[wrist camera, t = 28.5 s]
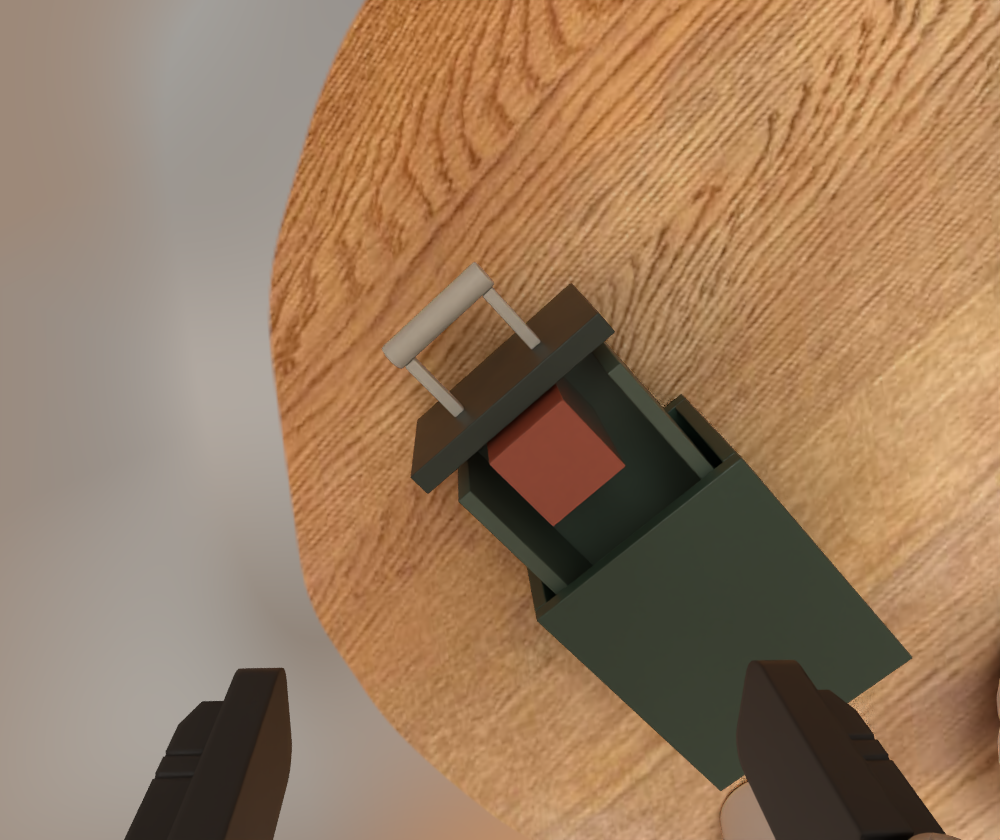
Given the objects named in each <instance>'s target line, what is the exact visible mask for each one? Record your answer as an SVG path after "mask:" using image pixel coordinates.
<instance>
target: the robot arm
mask: <svg viewBox="0 0 1000 840" xmlns="http://www.w3.org/2000/svg"><path fill="white" fill-rule="evenodd" d="M736 744H737V752H738V757H739V761H740V764H741V767H742V769H743V772H744V774H745V776H746V778H747V780H748V782H749V785H750V787H751V789H752V791H753V793H754V795H755V797H756V799H757V801H758V804H759V806H760V808H761V810H762V812H763V814H764V816H765V818H766V821H767V823H768V825H769V827H770V829H771V831H772V833H773V835H774V837H775V840H961V839H958V838H956V837H953V836H949V835H946V834H945V832H944V831H943V830H942V828H941V827H940V825H939V824H938V823H937V821H936V820H935V819H934V817H933V816H932V814H931V813H930V812H929V810H928V809H927V807H926V806H925V805H924V803H923V802H922V801H921V799H920V798H919V796H918V795H917V794H916V792H915V791H914V790H913V788H912V787H911V785H910V784H909V783H908V781H907V780H906V778H905V777H904V776H903V774H902V773H901V772H900V770H899V769H898V767H897V766H896V765H895V763H894V762H893V761H892V760H889V757H888V754H887V752H886V751H885V749H884V748H883V747H882V745H881V744H880V743H879V741H878V740H875V739H874V734H873V733H872V732H871V730H870V729H869V727H868V726H867V725H866V723H865V722H864V720H863V719H862V718H861V716H860V715H859V714H858V712H857V711H856V710H855V709H854V708H852V707H851V706H850V705H849V704H847V703H846V702H845V701H843V700H842V699H841V698H840V697H838V696H837V695H836V694H834V693H833V692H832V691H831V690H817V688H816V687H815V685H814V684H813V682H812V681H811V680H810V678H809V677H808V675H807V674H806V672H805V671H804V669H803V668H802V666H801V665H800V664H799V663H798V662H797V661H795V660H753V661H751V662H750V663H749V665H748V667H747V670H746V676H745V682H744V688H743V693H742V699H741V705H740V711H739V717H738V723H737V730H736ZM291 753H292V739H291V727H290V715H289V703H288V691H287V680H286V673H285V670H284V668H246V669H238V670H237V671H236V673H235V675H234V677H233V680H232V682H231V684H230V687H229V689H228V692H227V694H226V696H225V699H224V701H203V702H201V703H200V704H199V705H198V706H197V707H196V708H195V709H194V710H193V711H192V712H191V713H190V714H189V715H188V716H187V717H186V718H185V719H184V720H183V721H182V722H181V723H180V724H179V725H178V727H177V729H176V731H175V733H174V735H173V737H172V739H171V742H170V744H169V746H168V748H167V750H166V756H165V757H163V759H162V761H161V763H160V765H159V767H158V769H157V771H156V776H155V779H153V780H152V782H151V784H150V786H149V788H148V790H147V792H146V794H145V797H144V799H143V801H142V803H141V805H140V807H139V809H138V812H137V814H136V816H135V818H134V820H133V822H132V824H131V826H130V828H129V831H128V833H127V835H126V837H125V839H124V840H273V837H274V833H275V830H276V826H277V822H278V818H279V814H280V810H281V806H282V802H283V798H284V794H285V791H286V787H287V782H288V778H289V773H290V765H291Z"/></svg>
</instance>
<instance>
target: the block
mask: <svg viewBox="0 0 1000 840" xmlns="http://www.w3.org/2000/svg"><path fill="white" fill-rule="evenodd" d="M487 449H488V457H489V464H490V466H491V467H493V468H494V469H495V470H496V471H497V472H498V473H499V474H500V475H501V476H502V477H503V478H504V479H505V480H506V481H507V482H508V483H509V484H510V485H511V486H512V487H513V488H514V489H515V490H516V491H517V492H518V493H519V494H520V495H521V496H522V497H523V498H524V499H525V500H526V501H527V502H528V503H529V504H530V505H532V506H533V507H534V508H535V509H536V510H537V511H538V512H539V513H540V514H541V515H542V516H543V517H544V518H545V519H546V520H547V521H548V522H549V523H550V524H551V525H552V526H555V525H556V524H557V523H558V522H559V521H561V520H562V519H563V518H564V517H565V516H567V515H568V514H569V513H570V512H571V511H573V510H574V509H575V508H576V507H577V506H579V505H580V504H581V503H582V502H583V501H585V500H586V499H587V498H588V497H589V496H591V495H592V494H593V493H594V492H595V491H597V490H598V489H599V488H600V487H601V486H603V485H604V484H605V483H606V482H607V481H609V480H610V479H611V478H612V477H613V476H615V475H616V474H617V473H618V472H619V471H621V470H622V469H623V468H624V467H625V464H624V462H623V460H622V458H621V456H620V455H619V453H618V451H617V449H616V447H615V446H614V444H613V442H612V440H611V438H610V437H609V435H608V433H607V431H606V429H605V428H604V426H603V424H602V422H601V420H600V419H599V417H598V415H597V413H596V411H595V410H594V408H593V407H592V406H591V405H590V404H589V403H588V401H587V400H586V399H585V398H584V397H583V396H582V395H581V394H580V393H579V392H578V391H577V390H576V389H575V388H574V386H573V385H572V384H571V383H570V382H569V381H568V380H567V379H566V378H565V377H563V378H561V379H560V380H559V381H558V382H557V383H556V384H555V385H553V386H552V387H551V388H550V389H549V390H548V391H546V392H545V393H544V394H543V395H542V396H541V397H540V398H538V399H537V400H536V401H535V402H534V403H533V404H531V405H530V406H529V407H528V408H527V409H526V410H524V411H523V412H522V413H521V414H520V415H519V416H518V417H516V418H515V419H514V420H513V421H512V422H511V423H509V424H508V425H507V426H506V427H505V428H504V429H503V430H501V431H500V432H499V433H498V434H497V435H496V436H494V437H493V438H492V439H491V440H490V441H489V442H488V443H487Z"/></svg>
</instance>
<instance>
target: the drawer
mask: <svg viewBox="0 0 1000 840" xmlns="http://www.w3.org/2000/svg"><path fill="white" fill-rule="evenodd" d="M493 285H494V282H493V281H492V279H491V278H490V277H489V276H488V274H487V273H486V272H485V271H484V270H483V269H482V268H481V267H480V266H479V265H478V264H477V263H476V262H473V263H472V264H471V265H470V266H469V267H468V268H467V269H465V270H464V271H463V272H462V273H461V274H460V275H459V276H458V277H457V278H456V279H455V280H454V281H453V282H451V283H450V284H449V285H448V286H447V287H446V288H445V289H444V290H443V291H442V292H441V293H440V294H439V295H437V296H436V297H435V298H434V299H433V300H432V301H431V302H430V303H429V304H428V305H427V306H426V307H425V308H424V309H422V310H421V311H420V312H419V313H418V314H417V315H416V316H415V317H414V318H413V319H412V320H411V321H410V322H408V323H407V324H406V325H405V326H404V327H403V328H402V329H401V330H400V331H399V332H398V333H397V334H396V335H394V336H393V337H392V338H391V339H390V340H389V341H388V342H387V343H386V344H385V345H384V346H383V347H382V350H383V352H384V354H385V356H386V357H387V358H388V359H389V360H390V361H391V362H392V363H393V364H394V365H395V366H396V367H398V368H400V369H402V368H404V367H405V366H406V369H407V370H408V371H409V372H410V373H411V374H412V375H413V376H414V377H415V378H416V379H417V380H418V381H419V382H420V383H421V384H422V385H423V386H424V387H425V388H426V389H427V390H428V391H429V392H430V393H431V394H432V395H433V396H434V397H435V398H436V399H437V400H438V402H437V403H436V404H435V405H434V406H433V407H432V408H431V409H429V410H428V411H427V412H426V413H425V414H424V415H423V416H422V417H421V418H419V419H418V421H417V428H416V437H415V445H414V453H413V462H412V470H411V478H412V479H413V480H414V481H415V482H416V483H417V484H418V485H419V486H420V487H421V488H422V489H423V490H424V491H425V492H426V493H430V492H431V491H432V490H433V489H434V488H436V487H437V486H438V485H439V484H440V483H441V482H442V481H444V480H445V479H446V478H447V477H448V476H449V475H451V474H452V473H453V472H454V471H455V470H456V469H457V468H458V500H459V502H460V503H461V504H462V505H463V506H464V507H465V508H466V509H467V510H468V511H469V512H470V513H471V514H472V515H473V516H474V517H475V518H476V519H477V520H478V521H480V522H481V523H482V524H483V525H484V526H485V527H486V528H487V529H488V530H489V531H490V532H491V533H492V534H493V535H494V536H495V537H496V538H497V539H498V540H499V541H500V542H502V543H503V544H504V545H505V546H506V547H507V548H508V549H509V550H510V551H511V552H512V553H513V554H514V555H515V556H516V557H517V558H518V559H519V560H520V561H521V562H523V563H524V564H525V565H526V566H527V567H528V568H529V569H530V570H531V571H532V572H533V573H534V574H535V575H536V576H537V577H538V578H539V579H540V580H541V581H542V582H543V583H545V584H546V585H547V586H548V587H549V588H550V589H551V590H552V591H553V592H554V593H555V594H556V595H557V594H558V593H559V592H561V591H562V590H563V589H564V588H566V587H567V586H568V585H569V584H571V583H572V582H573V581H574V580H576V579H577V578H578V577H579V576H581V575H582V574H583V573H585V572H586V571H587V570H588V569H590V568H591V567H592V566H593V565H595V564H596V563H597V562H598V561H600V560H601V559H602V558H603V557H605V556H606V555H607V554H608V553H610V552H611V551H612V550H613V549H615V548H616V547H617V546H618V545H620V544H621V543H622V542H623V541H625V540H626V539H627V538H628V537H630V536H631V535H632V534H633V533H635V532H636V531H637V530H639V529H640V528H641V527H642V526H644V525H645V524H646V523H647V522H649V521H650V520H651V519H652V518H654V517H655V516H656V515H657V514H659V513H660V512H661V511H662V510H664V509H665V508H666V507H667V506H669V505H670V504H671V503H672V502H674V501H675V500H676V499H677V498H679V497H680V496H681V495H682V494H684V493H685V492H686V491H687V490H689V489H690V488H691V487H693V486H694V485H695V484H696V483H698V482H699V481H700V480H701V479H703V478H704V477H705V476H706V475H708V474H709V473H710V472H711V471H713V470H714V469H715V466H714V465H713V464H712V463H711V462H710V461H709V460H708V458H707V457H706V456H705V455H704V454H703V453H702V452H701V450H700V449H699V448H698V447H697V446H696V445H695V444H694V442H693V441H692V440H691V439H690V438H689V437H688V436H687V435H686V433H685V432H684V431H683V430H682V429H681V428H680V427H679V425H678V424H677V423H676V422H675V421H674V420H673V419H672V417H671V416H670V415H669V414H668V413H667V412H666V411H665V409H664V408H663V407H662V406H661V405H660V404H659V403H658V401H657V400H656V399H655V398H654V397H653V396H652V395H651V393H650V392H649V391H648V390H647V389H646V388H645V387H644V385H643V384H642V383H641V382H640V381H639V380H638V379H637V377H636V376H635V375H634V374H633V373H632V372H631V371H630V369H629V368H628V367H627V366H626V365H625V364H624V363H623V361H622V360H621V359H620V358H619V357H618V356H617V355H616V353H615V352H614V351H613V350H612V349H611V348H610V347H609V345H608V344H607V343H606V342H605V340H607V339H608V338H609V337H610V336H611V335H612V334H613V333H614V332H615V331H614V330H613V329H612V328H611V326H610V325H609V324H608V323H607V322H606V321H605V319H604V318H603V317H602V316H601V315H600V314H599V313H598V311H597V310H596V309H595V308H594V307H593V306H592V305H591V304H590V303H589V302H588V300H587V299H586V298H585V297H584V296H583V295H582V294H581V293H580V292H579V291H578V289H577V288H576V287H575V286H574V285H573V284H572V283H571V284H569V285H568V286H567V287H566V288H565V289H564V290H563V291H561V292H560V293H559V294H558V295H557V296H556V297H555V298H554V299H553V300H551V301H550V302H549V303H548V304H547V305H546V306H545V307H544V308H542V309H541V310H540V311H539V312H538V313H537V314H536V315H535V316H534V317H532V318H531V319H530V320H529V321H528V322H527V323H525V322H524V321H523V320H522V319H521V318H520V317H519V316H518V315H517V313H516V312H515V311H514V310H513V309H512V308H511V307H510V306H509V305H508V304H507V302H506V301H505V300H504V299H503V298H502V297H501V296H500V295H499V294H498V293H497V291H496V290H495V289H494V288H493V287H492V286H493ZM482 295H483V298H484V299H485V300H486V301H487V302H488V303H489V304H490V305H491V306H492V307H493V308H494V310H495V311H496V312H497V313H498V314H499V315H500V316H501V317H502V318H503V319H504V320H505V321H506V323H507V324H508V325H509V326H510V327H511V328H512V329H513V330H514V331H515V332H516V333H514V334H513V335H512V336H511V337H510V338H509V339H508V340H507V341H506V342H504V343H503V344H502V345H501V346H500V347H499V348H498V349H497V350H495V351H494V352H493V353H492V354H491V355H490V356H489V357H488V358H487V359H485V360H484V361H483V362H482V363H481V364H480V365H479V366H478V367H476V368H475V369H474V370H473V371H472V372H471V373H470V374H469V375H467V376H466V377H465V378H464V379H463V380H462V381H461V382H460V383H459V384H457V385H456V386H455V387H454V388H453V389H452V390H451V391H450V392H449V391H448V390H447V389H446V388H445V387H444V386H443V385H442V384H441V383H440V382H439V381H438V380H437V379H436V378H435V377H434V376H433V375H432V374H431V373H430V372H429V371H428V370H427V369H426V367H425V366H424V365H423V364H422V363H421V362H420V361H419V360H418V359H417V358H416V356H417V355H418V354H419V353H420V352H421V351H422V350H423V349H424V348H426V347H427V346H428V345H429V344H430V343H431V342H432V341H433V340H434V339H435V338H436V337H438V336H439V335H440V334H441V333H442V332H443V331H444V330H445V329H446V328H447V327H448V326H450V325H451V324H452V323H453V322H454V321H455V320H456V319H457V318H458V317H459V316H460V315H462V314H463V313H464V312H465V311H466V310H467V309H468V308H469V307H470V306H471V305H473V304H474V303H475V302H476V301H477V300H478V299H479V298H480V297H481V296H482ZM563 377H565V378H566V379H567V380H568V381H569V382H570V383H571V384H572V385H573V386H574V388H575V389H576V390H577V391H578V392H579V393H580V394H581V395H582V396H583V397H584V398H585V399H586V400H587V401H588V403H589V404H590V405H591V406H592V407H593V408H594V410H595V411H596V413H597V415H598V417H599V419H600V420H601V422H602V424H603V426H604V428H605V429H606V431H607V433H608V435H609V437H610V438H611V440H612V442H613V444H614V446H615V447H616V449H617V451H618V453H619V455H620V456H621V458H622V460H623V462H624V464H625V467H624V468H623V469H622V470H621V471H619V472H618V473H617V474H616V475H615V476H613V477H612V478H611V479H610V480H609V481H607V482H606V483H605V484H604V485H603V486H601V487H600V488H599V489H598V490H597V491H595V492H594V493H593V494H592V495H591V496H589V497H588V498H587V499H586V500H585V501H583V502H582V503H581V504H580V505H579V506H577V507H576V508H575V509H574V510H573V511H571V512H570V513H569V514H568V515H567V516H565V517H564V518H563V519H562V520H561V521H559V522H558V523H557V524H556V525H555V526H552V525H551V524H550V523H549V522H548V521H547V520H546V519H545V518H544V517H543V516H542V515H541V514H540V513H539V512H538V511H537V510H536V509H535V508H534V507H533V506H532V505H530V504H529V503H528V502H527V501H526V500H525V499H524V498H523V497H522V496H521V495H520V494H519V493H518V492H517V491H516V490H515V489H514V488H513V487H512V486H511V485H510V484H509V483H508V482H507V481H506V480H505V479H504V478H503V477H502V476H501V475H500V474H499V473H498V472H497V471H496V470H495V469H494V468H493V467H491V466H490V464H489V457H488V449H487V443H488V442H489V441H490V440H491V439H492V438H493V437H494V436H496V435H497V434H498V433H499V432H500V431H501V430H503V429H504V428H505V427H506V426H507V425H508V424H509V423H511V422H512V421H513V420H514V419H515V418H516V417H518V416H519V415H520V414H521V413H522V412H523V411H524V410H526V409H527V408H528V407H529V406H530V405H531V404H533V403H534V402H535V401H536V400H537V399H538V398H540V397H541V396H542V395H543V394H544V393H545V392H546V391H548V390H549V389H550V388H551V387H552V386H553V385H555V384H556V383H557V382H558V381H559V380H560V379H561V378H563Z"/></svg>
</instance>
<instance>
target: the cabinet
mask: <svg viewBox="0 0 1000 840" xmlns="http://www.w3.org/2000/svg"><path fill="white" fill-rule="evenodd" d="M664 409H665V411H666V412H667V413H668V414H669V415H670V416H671V417H672V419H673V420H674V421H675V422H676V423H677V424H678V425H679V427H680V428H681V429H682V430H683V431H684V432H685V433H686V435H687V436H688V437H689V438H690V439H691V440H692V441H693V442H694V444H695V445H696V446H697V447H698V448H699V449H700V450H701V452H702V453H703V454H704V455H705V456H706V457H707V458H708V460H709V461H710V462H711V463H712V464H713V465H714V466H715V469H714V470H713V471H711V472H710V473H709V474H708V475H706V476H705V477H704V478H703V479H701V480H700V481H699V482H698V483H696V484H695V485H694V486H693V487H691V488H690V489H689V490H687V491H686V492H685V493H684V494H682V495H681V496H680V497H679V498H677V499H676V500H675V501H674V502H672V503H671V504H670V505H669V506H667V507H666V508H665V509H664V510H662V511H661V512H660V513H659V514H657V515H656V516H655V517H654V518H652V519H651V520H650V521H649V522H647V523H646V524H645V525H644V526H642V527H641V528H640V529H639V530H637V531H636V532H635V533H633V534H632V535H631V536H630V537H628V538H627V539H626V540H625V541H623V542H622V543H621V544H620V545H618V546H617V547H616V548H615V549H613V550H612V551H611V552H610V553H608V554H607V555H606V556H605V557H603V558H602V559H601V560H600V561H598V562H597V563H596V564H595V565H593V566H592V567H591V568H590V569H588V570H587V571H586V572H585V573H583V574H582V575H581V576H579V577H578V578H577V579H576V580H574V581H573V582H572V583H571V584H569V585H568V586H567V587H566V588H564V589H563V590H562V591H561V592H559V593H558V594H557V595H556V594H555V593H554V592H553V591H552V590H551V589H550V588H549V587H548V586H547V585H546V584H545V583H543V582H542V581H541V580H540V579H539V578H538V577H537V576H536V575H535V574H534V573H533V572H532V571H531V570H530V569H529V568H528V567H527V570H528V576H529V581H530V586H531V592H532V597H533V603H534V608H535V613H536V619H537V621H538V622H539V623H540V624H541V625H542V626H543V627H544V628H545V629H546V630H547V631H548V632H550V633H551V634H552V635H553V636H554V637H555V638H556V639H557V640H558V641H559V642H560V643H561V644H562V645H564V646H565V647H566V648H567V649H568V650H569V651H570V652H571V653H572V654H573V655H574V656H575V657H577V658H578V659H579V660H580V661H581V662H582V663H583V664H584V665H585V666H586V667H587V668H588V669H589V670H591V671H592V672H593V673H594V674H595V675H596V676H597V677H598V678H599V679H600V680H601V681H602V682H603V683H605V684H606V685H607V686H608V687H609V688H610V689H611V690H612V691H613V692H614V693H615V694H616V695H618V696H619V697H620V698H621V699H622V700H623V701H624V702H625V703H626V704H627V705H628V706H629V707H630V708H632V709H633V710H634V711H635V712H636V713H637V714H638V715H639V716H640V717H641V718H642V719H643V720H644V721H646V722H647V723H648V724H649V725H650V726H651V727H652V728H653V729H654V730H655V731H656V732H657V733H658V734H660V735H661V736H662V737H663V738H664V739H665V740H666V741H667V742H668V743H669V744H670V745H671V746H673V747H674V748H675V749H676V750H677V751H678V752H679V753H680V754H681V755H682V756H683V757H684V758H685V759H687V760H688V761H689V762H690V763H691V764H692V765H693V766H694V767H695V768H696V769H697V770H698V771H699V772H701V773H702V774H703V775H704V776H705V777H706V778H707V779H708V780H709V781H710V782H711V783H712V784H713V785H715V786H716V787H717V788H718V789H719V790H720V791H722V790H723V789H725V788H726V787H728V786H729V785H731V784H732V783H733V782H735V781H736V780H738V779H739V778H741V777H742V776H744V775H745V774H744V772H743V769H742V767H741V764H740V761H739V757H738V752H737V744H736V730H737V723H738V717H739V711H740V705H741V699H742V693H743V688H744V682H745V676H746V670H747V667H748V665H749V663H750V662H751V661H753V660H795V661H797V662H798V663H799V664H800V665H801V666H802V668H803V669H804V671H805V672H806V674H807V675H808V677H809V678H810V680H811V681H812V682H813V684H814V685H815V687H816V688H817V690H831V691H832V692H833V693H834V694H836V695H837V696H838V697H840V698H841V699H842V700H843V701H845V702H846V703H849V702H850V701H851V700H853V699H854V698H856V697H857V696H859V695H860V694H862V693H863V692H864V691H866V690H867V689H869V688H870V687H872V686H873V685H874V684H876V683H877V682H879V681H880V680H882V679H883V678H885V677H886V676H887V675H889V674H890V673H892V672H893V671H895V670H896V669H898V668H899V667H900V666H902V665H903V664H905V663H906V662H908V661H909V660H910V659H912V656H911V655H910V654H909V652H908V651H907V650H906V649H905V648H904V647H903V645H902V644H901V643H900V642H899V641H898V640H897V638H896V637H895V636H894V635H893V634H892V633H891V631H890V630H889V629H888V628H887V627H886V626H885V624H884V623H883V622H882V621H881V620H880V619H879V617H878V616H877V615H876V614H875V613H874V612H873V610H872V609H871V608H870V607H869V606H868V605H867V603H866V602H865V601H864V600H863V599H862V598H861V596H860V595H859V594H858V593H857V592H856V591H855V589H854V588H853V587H852V586H851V585H850V583H849V582H848V581H847V580H846V579H845V578H844V576H843V575H842V574H841V573H840V572H839V571H838V569H837V568H836V567H835V566H834V565H833V564H832V562H831V561H830V560H829V559H828V558H827V557H826V555H825V554H824V553H823V552H822V551H821V550H820V548H819V547H818V546H817V545H816V544H815V543H814V541H813V540H812V539H811V538H810V537H809V536H808V534H807V533H806V532H805V531H804V530H803V529H802V527H801V526H800V525H799V524H798V523H797V522H796V520H795V519H794V518H793V517H792V516H791V515H790V513H789V512H788V511H787V510H786V509H785V508H784V506H783V505H782V504H781V503H780V502H779V501H778V499H777V498H776V497H775V496H774V495H773V493H772V492H771V491H770V490H769V489H768V488H767V486H766V485H765V484H764V483H763V482H762V481H761V479H760V478H759V477H758V476H757V475H756V474H755V472H754V471H753V470H752V469H751V468H750V467H749V465H748V464H747V463H746V462H745V461H744V460H743V458H742V457H741V456H740V455H739V454H738V453H737V452H736V451H735V450H734V449H733V448H732V447H731V446H730V445H729V444H728V443H727V441H726V440H725V439H724V438H723V437H722V436H721V435H720V434H719V433H718V432H717V431H716V430H715V429H714V428H713V427H712V426H711V425H710V424H709V422H708V421H707V420H706V419H705V418H704V417H703V416H702V415H701V414H700V413H699V412H698V411H697V410H696V409H695V408H694V407H693V406H692V404H691V403H690V402H689V401H688V400H687V399H686V398H685V397H684V396H683V395H682V394H681V395H680V396H678V397H677V398H676V399H675V400H674V401H672V402H671V403H670V404H669V405H667V406H666V407H665V408H664Z"/></svg>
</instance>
